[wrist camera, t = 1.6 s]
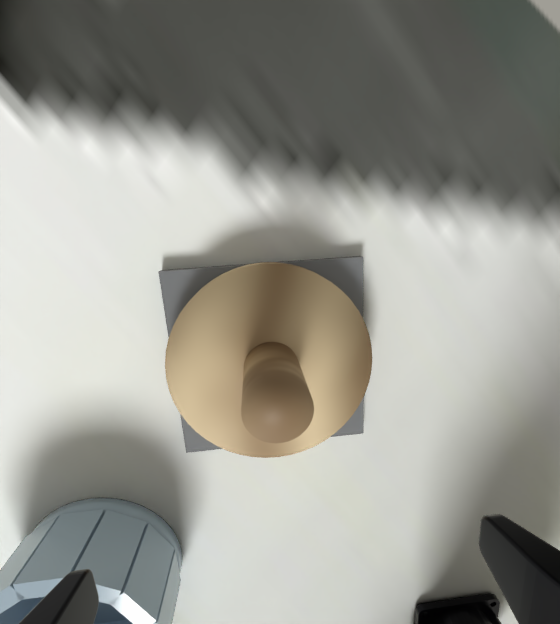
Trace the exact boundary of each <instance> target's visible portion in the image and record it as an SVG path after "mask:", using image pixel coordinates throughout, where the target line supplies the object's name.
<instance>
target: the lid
mask: <svg viewBox="0 0 560 624" xmlns="http://www.w3.org/2000/svg"><path fill="white" fill-rule="evenodd" d="M371 367H372V348H371V342H370V337H369V333H368V330H367V327H366V324H365V322H364V320H363V318H362V316H361V314H360V312H359V310H358V309H357V308H356V306H355V305H354V303H353V302H352V301H351V299H350V298H349V297H348V296H347V295H346V294H345V293H344V292H343V291H342V290H341V289H339V288H338V287H337V286H336V285H334V284H333V283H332V282H330V281H329V280H327V279H325V278H324V277H322V276H320V275H319V274H317V273H315V272H313V271H310V270H308V269H306V268H303V267H300V266H296V265H292V264H287V263H279V262H261V263H254V264H248V265H244V266H241V267H237V268H234V269H232V270H230V271H227V272H225V273H223V274H221V275H219V276H218V277H216V278H214V279H213V280H211V281H210V282H209V283H207V284H206V285H205V286H204V287H202V288H201V289H200V290H199V291H198V292H197V293H196V294H195V295H194V296H193V298H192V299H191V300H190V301H189V302H188V303H187V304H186V306H185V307H184V308H183V310H182V311H181V313H180V314H179V316H178V318H177V320H176V322H175V323H174V325H173V328H172V331H171V333H170V336H169V339H168V344H167V349H166V359H165V369H166V379H167V383H168V387H169V391H170V394H171V396H172V399H173V401H174V403H175V405H176V407H177V409H178V410H179V412H180V414H181V415H182V416H183V418H184V419H185V420H186V422H187V423H188V424H189V425H190V426H191V427H192V428H193V429H194V430H195V431H196V432H197V433H198V434H200V435H201V436H202V437H203V438H205V439H206V440H208V441H209V442H211V443H213V444H214V445H216V446H218V447H220V448H223V449H225V450H227V451H230V452H233V453H237V454H240V455H245V456H251V457H264V458H267V457H280V456H286V455H291V454H295V453H298V452H302V451H304V450H307V449H309V448H312V447H314V446H316V445H318V444H319V443H321V442H323V441H325V440H326V439H328V438H329V437H330V436H332V435H333V434H335V433H336V432H337V431H338V430H339V429H340V428H341V427H342V426H344V425H345V423H346V422H347V421H348V420H349V419H350V418H351V416H352V415H353V414H354V412H355V411H356V409H357V408H358V406H359V405H360V403H361V401H362V399H363V397H364V395H365V392H366V389H367V386H368V383H369V379H370V374H371Z"/></svg>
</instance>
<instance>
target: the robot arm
mask: <svg viewBox="0 0 560 624" xmlns="http://www.w3.org/2000/svg"><path fill="white" fill-rule="evenodd" d="M479 546H480V550H481V553H482V555H483V557H484V559H485V561H486V563H487V565H488V567H489V568H490V570H491V572H492V574H493V576H494V578H495V580H496V582H497V583H498V585H499V587H500V589H501V591H502V593H503V595H504V597H505V599H506V600H507V602H508V604H509V606H510V608H511V610H512V612H513V614H514V616H515V617H516V619H517V621H518V623H519V624H560V551H559V550H558V549H556V548H555V547H553V546H551V545H550V544H548V543H546V542H545V541H543V540H542V539H540V538H538V537H537V536H535V535H534V534H532V533H530V532H529V531H527V530H526V529H524V528H522V527H521V526H519V525H518V524H516V523H514V522H513V521H511V520H510V519H508V518H506V517H505V516H503V515H500V514H493V515H486V516H483V518H482V519H481V527H480V537H479ZM98 604H99V596H98V591H97V588H96V584H95V580H94V577H93V573H92V571H91V570H90V569H83V570H76V571H72V572H70V573H68V574H67V575H66V576H65V577H64V578H63V579H62V580H61V581H60V582H59V583H58V584H57V585H56V586H55V587H54V588H53V589H52V590H51V591H50V592H49V593H48V594H47V595H46V596H45V597H44V598H43V599H42V600H41V601H40V602H39V603H38V604H37V605H36V606H35V607H34V608H33V609H32V610H31V611H30V612H29V613H28V614H27V615H26V616H25V617H24V618H23V619H22V621H21V622H20V623H19V624H94V621H95V617H96V614H97V610H98ZM499 604H500V603H499V600H498V599H497V597H496V596H495V595H494V594H485V595H478V596H471V597H465V598H458V599H451V600H444V601H437V602H431V603H424V604H420V605H418V606H417V607H416V614H415V624H501V622H500V621H499V619H498V611H499Z"/></svg>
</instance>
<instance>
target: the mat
mask: <svg viewBox="0 0 560 624" xmlns="http://www.w3.org/2000/svg"><path fill="white" fill-rule="evenodd" d="M279 263H287V264H292V265H296V266H300V267H303V268H306V269H308V270H310V271H313V272H315V273H317V274H319V275H320V276H322V277H324V278H325V279H327V280H329V281H330V282H332V283H333V284H334V285H336V286H337V287H338V288H339V289H341V290H342V291H343V292H344V293H345V294H346V295H347V296H348V297H349V298H350V299H351V301H352V302H353V303H354V305H355V306H356V308H357V309H358V310H359V312H360V314H361V316H362V318H363V257H361V256H356V257H342V258H328V259H314V260H300V261H286V262H279ZM244 265H248V264H244ZM244 265H230V266H216V267H202V268H188V269H174V270H161V271H159V277H160V284H161V290H162V297H163V303H164V310H165V316H166V323H167V329H168V336H170V333H171V331H172V328H173V325H174V323H175V322H176V320H177V318H178V316H179V314H180V313H181V311H182V310H183V308H184V307H185V306H186V304H187V303H188V302H189V301H190V300H191V299H192V298H193V296H194V295H195V294H196V293H197V292H198V291H199V290H200V289H201V288H202V287H204V286H205V285H206V284H207V283H209V282H210V281H211V280H213V279H214V278H216V277H218V276H219V275H221V274H223V273H225V272H227V271H230V270H232V269H234V268H237V267H241V266H244ZM181 421H182V427H183V434H184V440H185V447H186V453H187V452H196V451H205V450H214V449H223V448H220V447H218V446H216V445H214V444H213V443H211V442H209V441H208V440H206V439H205V438H203V437H202V436H201V435H200V434H198V433H197V432H196V431H195V430H194V429H193V428H192V427H191V426H190V425H189V424H188V423H187V422H186V420H185V419H184V418H183V416H182V415H181ZM361 433H363V399H362V401H361V403H360V405H359V406H358V408H357V409H356V411H355V412H354V414H353V415H352V416H351V418H350V419H349V420H348V421H347V422H346V423H345V425H344V426H342V427H341V428H340V429H339V430H338V431H337V432H336V433H335V434H333V435H332V436H330V437H334V436H343V435H352V434H361Z"/></svg>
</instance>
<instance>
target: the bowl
mask: <svg viewBox="0 0 560 624" xmlns="http://www.w3.org/2000/svg"><path fill="white" fill-rule="evenodd" d="M181 565H182V552H181V547H180V544H179V541H178V539H177V537H176V535H175V533H174V532H173V530H172V529H171V527H170V526H169V525H168V524H167V523H166V522H165V521H164V520H163V519H162V518H161V517H160V516H158V515H157V514H155V513H154V512H152V511H151V510H149V509H147V508H145V507H143V506H141V505H138V504H135V503H133V502H129V501H125V500H120V499H113V498H92V499H85V500H80V501H76V502H73V503H69V504H67V505H65V506H62V507H60V508H58V509H57V510H55V511H53V512H51V513H50V514H49V515H47V516H46V517H45V518H44V519H43V520H42V521H41V522H40V523H39V524H38V525H37V526H36V528H35V529H34V530H33V532H32V533H30V534H29V535H27V536H26V537H25V538H24V539H23V541H22V542H21V543H20V545H19V546H18V547H17V549H16V550H15V551H14V553H13V554H12V555H11V557H10V558H9V559H8V561H7V562H6V563H5V565H4V566H3V567H2V569H1V570H0V624H19V623H20V622H21V621H22V619H23V618H24V617H25V616H26V615H27V614H28V613H29V612H30V611H31V610H32V609H33V608H34V607H35V606H36V605H37V604H38V603H39V602H40V601H41V600H42V599H43V598H44V597H45V596H46V595H47V594H48V593H49V592H50V591H51V590H52V589H53V588H54V587H55V586H56V585H57V584H58V583H59V582H60V581H61V580H62V579H63V578H64V577H65V576H66V575H67V574H68V573H70V572H72V571H76V570H83V569H90V570H91V571H92V573H93V577H94V580H95V584H96V588H97V591H98V596H99V604H98V610H97V614H96V617H95V621H94V624H172V620H173V615H174V611H175V606H176V601H177V596H178V591H179V586H180V581H181V579H180V570H181Z"/></svg>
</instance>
